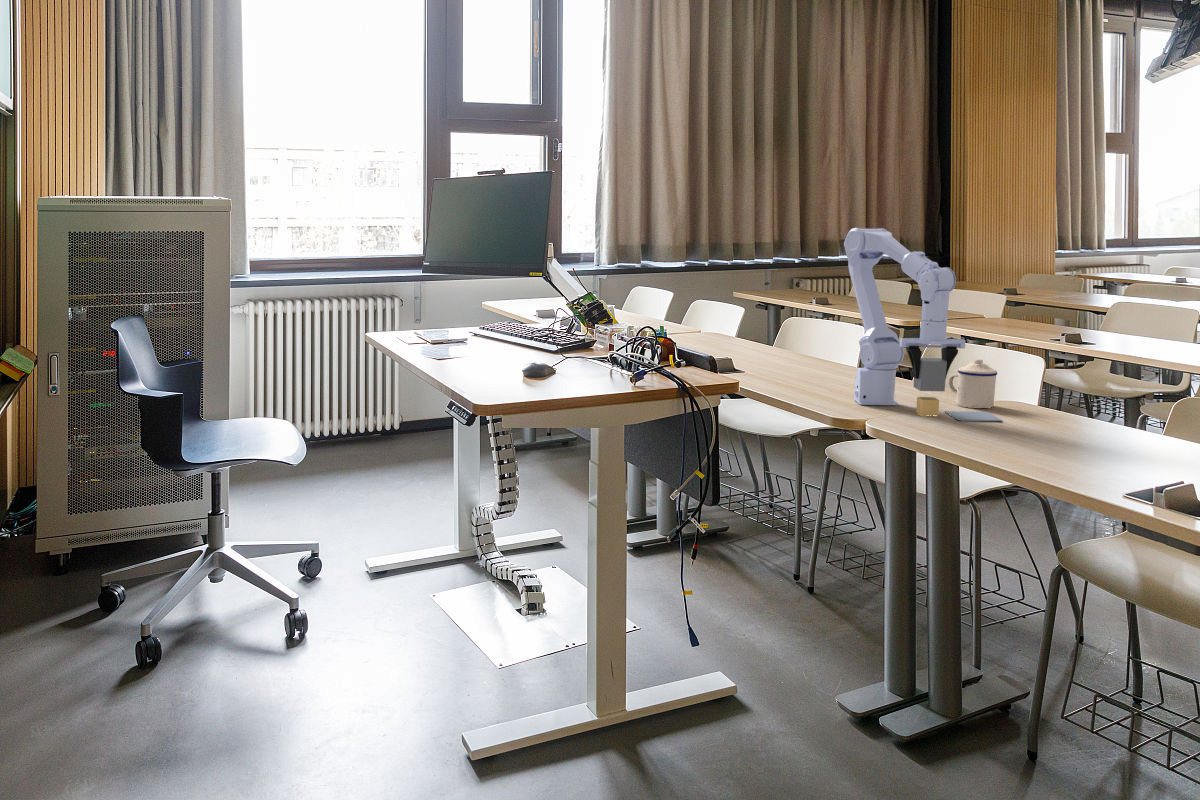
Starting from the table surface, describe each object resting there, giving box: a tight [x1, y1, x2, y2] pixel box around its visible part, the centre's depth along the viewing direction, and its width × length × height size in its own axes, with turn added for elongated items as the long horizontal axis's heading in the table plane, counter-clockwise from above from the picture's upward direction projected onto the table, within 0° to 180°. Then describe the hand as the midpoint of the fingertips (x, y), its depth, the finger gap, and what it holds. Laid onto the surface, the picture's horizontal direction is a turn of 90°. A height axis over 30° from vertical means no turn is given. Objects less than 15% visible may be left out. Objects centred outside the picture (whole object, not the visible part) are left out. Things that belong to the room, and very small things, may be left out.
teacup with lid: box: [948, 358, 998, 409], centre depth 234 cm, size 12×9×12 cm
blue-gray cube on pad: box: [913, 357, 947, 392], centre depth 220 cm, size 6×6×7 cm
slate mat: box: [944, 410, 1004, 423], centre depth 219 cm, size 10×10×1 cm
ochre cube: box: [915, 396, 940, 417], centre depth 222 cm, size 4×4×4 cm
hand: (929, 378), depth 220 cm, fingers closed on blue-gray cube on pad, 6 cm apart
